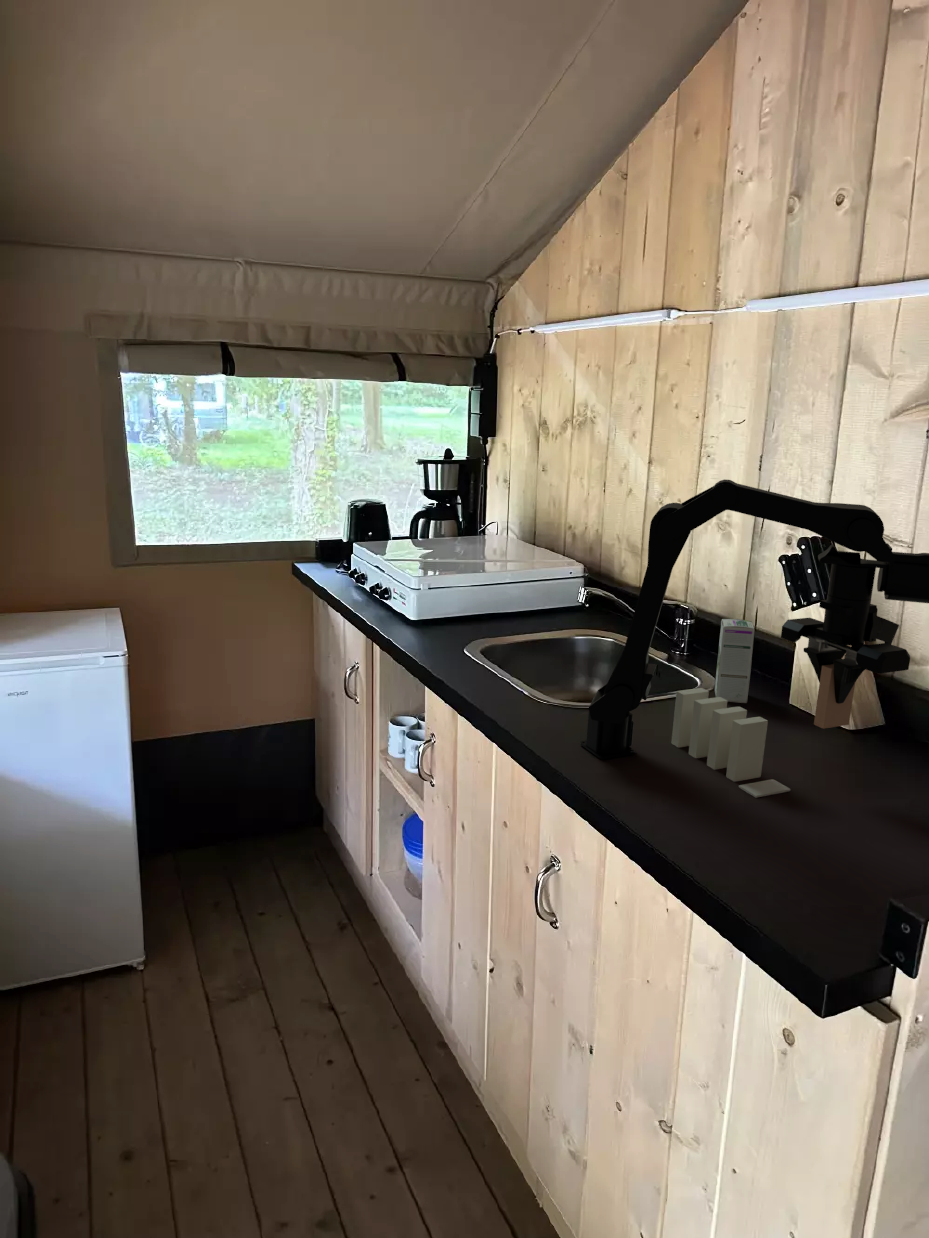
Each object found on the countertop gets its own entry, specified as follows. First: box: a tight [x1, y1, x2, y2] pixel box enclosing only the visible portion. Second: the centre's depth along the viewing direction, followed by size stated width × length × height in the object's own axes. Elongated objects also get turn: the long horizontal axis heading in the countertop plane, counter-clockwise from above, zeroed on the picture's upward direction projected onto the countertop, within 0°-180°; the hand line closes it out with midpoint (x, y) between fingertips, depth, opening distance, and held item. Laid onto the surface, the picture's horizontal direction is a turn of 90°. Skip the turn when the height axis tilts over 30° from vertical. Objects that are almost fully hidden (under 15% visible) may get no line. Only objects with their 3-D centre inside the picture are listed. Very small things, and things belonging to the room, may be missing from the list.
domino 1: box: [671, 687, 710, 749], centre depth 146 cm, size 2×5×9 cm, turn 114°
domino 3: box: [706, 705, 748, 771], centre depth 138 cm, size 2×5×9 cm, turn 114°
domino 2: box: [688, 696, 728, 759], centre depth 142 cm, size 2×5×9 cm, turn 114°
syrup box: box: [714, 618, 756, 704], centre depth 169 cm, size 6×6×14 cm
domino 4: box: [725, 716, 769, 783], centre depth 135 cm, size 2×5×9 cm, turn 114°
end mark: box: [738, 778, 791, 798], centre depth 132 cm, size 6×4×1 cm, turn 114°
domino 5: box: [813, 664, 856, 729], centre depth 131 cm, size 2×5×9 cm, turn 114°
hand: (834, 700), depth 132 cm, fingers closed on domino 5, 2 cm apart
